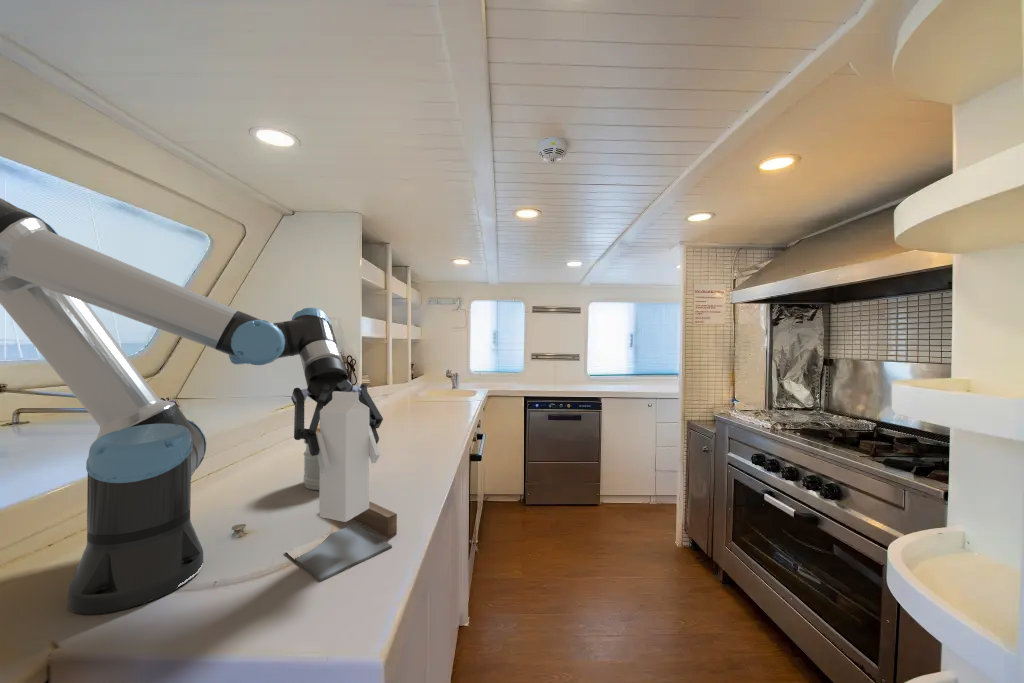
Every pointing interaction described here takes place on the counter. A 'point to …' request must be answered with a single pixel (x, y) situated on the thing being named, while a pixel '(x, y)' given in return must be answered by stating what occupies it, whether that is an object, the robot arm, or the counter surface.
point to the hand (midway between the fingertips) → (351, 464)
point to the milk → (345, 457)
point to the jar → (311, 468)
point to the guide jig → (351, 543)
